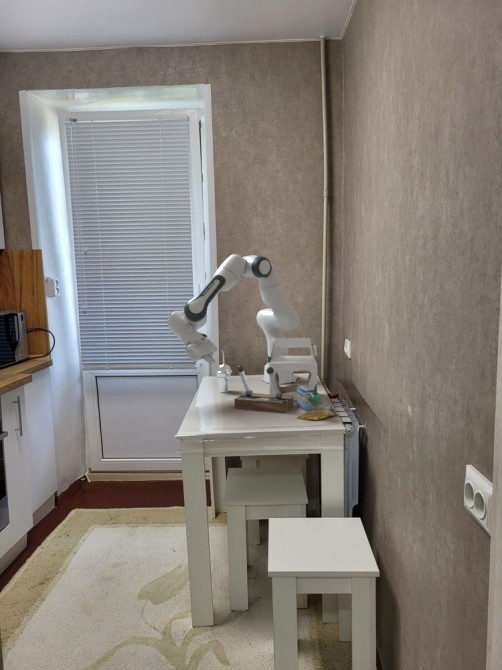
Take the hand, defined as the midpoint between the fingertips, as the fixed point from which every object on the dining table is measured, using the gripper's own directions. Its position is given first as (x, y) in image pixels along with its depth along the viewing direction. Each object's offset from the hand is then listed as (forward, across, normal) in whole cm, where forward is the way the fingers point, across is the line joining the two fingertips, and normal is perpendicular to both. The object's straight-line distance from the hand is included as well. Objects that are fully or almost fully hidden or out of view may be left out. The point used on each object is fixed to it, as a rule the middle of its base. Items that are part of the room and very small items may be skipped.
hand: (213, 363), depth 217 cm
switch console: (+30, 0, -5) cm, 31 cm away
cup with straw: (+10, +20, +16) cm, 27 cm away
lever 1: (+22, 0, -3) cm, 23 cm away
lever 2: (+32, 0, -12) cm, 35 cm away
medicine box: (+42, +4, -17) cm, 46 cm away
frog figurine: (+48, -8, -22) cm, 54 cm away
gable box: (+35, +20, -9) cm, 41 cm away
